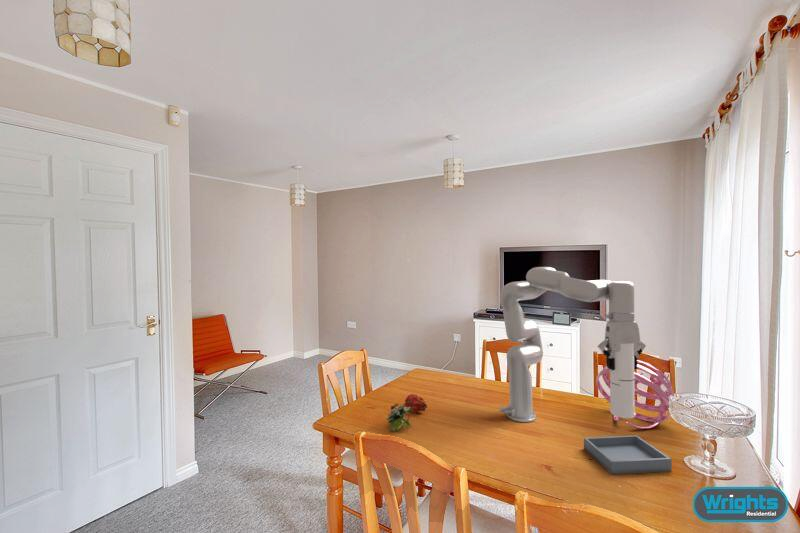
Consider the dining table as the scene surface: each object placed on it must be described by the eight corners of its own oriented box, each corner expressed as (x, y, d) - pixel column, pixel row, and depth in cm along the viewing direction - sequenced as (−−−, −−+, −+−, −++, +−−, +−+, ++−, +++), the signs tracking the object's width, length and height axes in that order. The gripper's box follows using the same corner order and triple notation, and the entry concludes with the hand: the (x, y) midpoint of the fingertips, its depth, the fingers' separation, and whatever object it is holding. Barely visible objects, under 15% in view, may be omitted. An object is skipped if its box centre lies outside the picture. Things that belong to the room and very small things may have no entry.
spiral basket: (632, 393, 132) (659, 343, 144) (571, 388, 157) (598, 346, 169) (676, 450, 134) (699, 396, 146) (609, 437, 159) (633, 391, 171)
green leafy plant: (395, 436, 155) (400, 407, 162) (415, 438, 149) (420, 408, 156) (379, 429, 149) (385, 400, 155) (400, 431, 142) (405, 400, 149)
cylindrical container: (634, 420, 119) (634, 344, 119) (609, 415, 123) (609, 342, 123) (634, 412, 125) (633, 340, 125) (610, 408, 129) (610, 338, 129)
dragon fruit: (405, 411, 173) (425, 421, 165) (397, 405, 167) (418, 415, 159) (412, 394, 176) (433, 403, 168) (405, 388, 170) (426, 397, 163)
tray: (612, 474, 116) (611, 462, 116) (584, 448, 132) (583, 437, 132) (671, 471, 117) (671, 458, 117) (636, 446, 133) (636, 435, 133)
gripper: (603, 319, 120) (603, 372, 120) (654, 318, 120) (654, 371, 121) (590, 316, 127) (591, 366, 127) (638, 315, 128) (638, 364, 128)
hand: (621, 368), depth 124 cm, fingers closed on cylindrical container, 7 cm apart
